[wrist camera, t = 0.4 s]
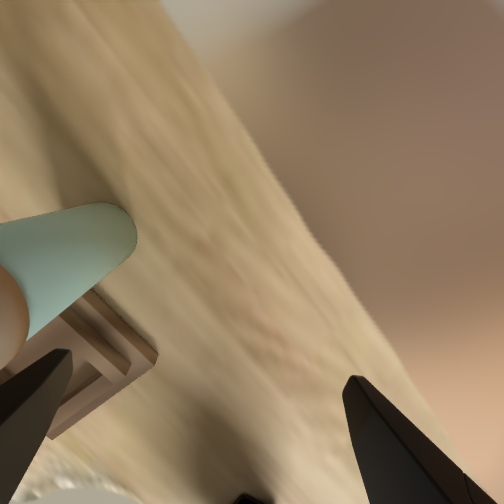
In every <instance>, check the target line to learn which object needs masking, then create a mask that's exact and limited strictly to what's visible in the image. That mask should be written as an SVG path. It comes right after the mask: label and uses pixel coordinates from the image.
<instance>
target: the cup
mask: <svg viewBox="0 0 504 504" xmlns="http://www.w3.org/2000/svg"><path fill="white" fill-rule="evenodd" d="M136 243H137V231H136V227H135V225H134V222H133V221H132V219H131V218H130V216H129V215H128V214H127V213H126V212H125V211H124V210H122V209H121V208H119V207H117V206H115V205H113V204H110V203H105V202H96V203H91V204H86V205H82V206H77V207H73V208H68V209H64V210H59V211H55V212H50V213H46V214H41V215H37V216H32V217H28V218H23V219H19V220H14V221H10V222H6V223H1V224H0V370H1V369H2V368H3V367H4V366H6V365H7V364H8V363H9V362H10V361H11V360H13V359H14V358H15V357H16V356H17V355H18V353H19V352H20V351H21V350H22V348H23V346H24V344H25V342H26V341H27V340H28V339H30V338H31V337H32V336H33V335H34V334H36V333H37V332H38V331H39V330H41V329H42V328H43V327H44V326H45V325H47V324H48V323H49V322H50V321H51V320H53V319H54V318H55V317H56V316H58V315H59V314H60V313H61V312H62V311H64V310H65V309H66V308H67V307H68V306H70V305H71V304H72V303H73V302H75V301H76V300H77V299H78V298H79V297H81V296H82V295H83V294H84V293H85V292H87V291H88V290H89V289H90V288H92V287H93V286H94V285H95V284H96V283H98V282H99V281H100V280H101V279H103V278H104V277H105V276H106V275H107V274H109V273H110V272H111V271H112V270H113V269H115V268H116V267H117V266H118V265H120V264H121V263H122V262H123V261H124V260H126V259H127V258H128V257H129V256H130V255H131V254H132V252H133V251H134V249H135V247H136Z"/></svg>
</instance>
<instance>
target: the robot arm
mask: <svg viewBox="0 0 504 504" xmlns="http://www.w3.org/2000/svg"><path fill="white" fill-rule="evenodd" d="M72 374H73V357H72V351H71V350H70V349H65V348H55V349H53V350H52V351H50V352H49V353H47V354H46V355H44V356H43V357H41V358H40V359H38V360H37V361H35V362H34V363H32V364H31V365H29V366H28V367H26V368H25V369H23V370H22V371H20V372H19V373H17V374H16V375H14V376H13V377H11V378H10V379H8V380H7V381H5V382H4V383H2V384H1V385H0V504H9V502H10V500H11V498H12V496H13V494H14V493H15V491H16V489H17V487H18V485H19V484H20V482H21V480H22V478H23V476H24V474H25V473H26V471H27V469H28V467H29V465H30V463H31V462H32V460H33V458H34V456H35V454H36V453H37V451H38V449H39V447H40V445H41V443H42V442H43V440H44V438H45V436H46V434H47V432H48V430H49V428H50V426H51V424H52V421H53V419H54V417H55V414H56V412H57V410H58V407H59V405H60V403H61V400H62V398H63V396H64V393H65V391H66V389H67V386H68V384H69V381H70V379H71V377H72ZM342 398H343V403H344V408H345V413H346V418H347V423H348V427H349V432H350V437H351V442H352V446H353V449H354V453H355V456H356V459H357V463H358V466H359V469H360V473H361V476H362V479H363V483H364V486H365V489H366V493H367V496H368V499H369V502H370V504H497V503H496V502H495V501H494V500H493V499H492V498H491V497H490V496H489V495H488V494H486V493H485V492H484V491H483V490H482V489H481V488H480V487H479V486H478V485H477V484H476V483H475V482H474V481H473V480H472V479H471V478H470V477H468V476H467V475H466V474H465V473H463V471H462V470H461V469H460V468H459V467H458V466H457V465H456V464H455V463H454V462H453V461H452V460H451V459H450V458H448V457H447V456H446V455H445V454H444V453H443V452H442V451H441V450H440V449H439V448H438V447H437V446H436V445H435V444H434V443H433V442H432V441H431V440H430V439H429V438H428V437H426V436H425V435H424V434H423V433H422V432H421V431H420V430H419V429H418V428H417V427H416V426H415V425H414V424H413V423H412V422H411V421H410V420H409V419H408V418H407V417H406V416H405V415H403V414H402V413H401V412H400V411H399V410H398V409H397V408H396V407H395V406H394V405H393V404H392V403H391V402H390V401H389V400H388V399H387V398H386V397H385V396H384V395H383V394H381V393H380V392H379V391H378V390H377V389H376V388H375V387H374V386H373V385H372V384H371V383H370V382H369V381H368V380H367V379H366V378H365V377H363V376H358V375H352V376H350V378H349V379H348V381H347V383H346V385H345V387H344V389H343V393H342ZM233 504H264V503H262V502H260V501H258V500H256V499H254V498H252V497H250V496H248V495H241V496H240V497H239V498H238V499H237V500H236V501H235V502H234V503H233Z"/></svg>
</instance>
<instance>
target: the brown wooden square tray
mask: <svg viewBox="0 0 504 504" xmlns="http://www.w3.org/2000/svg"><path fill="white" fill-rule="evenodd" d="M55 348H65V349H70V350H71V351H72V357H73V374H72V377H71V379H70V381H69V384H68V386H67V389H66V391H65V393H64V396H63V398H62V400H61V403H60V405H59V407H58V410H57V412H56V414H55V417H54V419H53V421H52V424H51V426H50V428H49V430H48V432H47V434H46V436H47V437H48V438H50V439H51V440H53V439H55V438H56V437H57V436H59V435H60V434H61V433H63V432H64V431H66V430H67V429H68V428H70V427H71V426H72V425H74V424H75V423H77V422H78V421H79V420H81V419H82V418H83V417H85V416H86V415H88V414H89V413H90V412H92V411H93V410H94V409H96V408H97V407H98V406H100V405H101V404H103V403H104V402H105V401H107V400H108V399H109V398H111V397H112V396H114V395H115V394H116V393H118V392H119V391H120V390H122V389H123V388H125V387H126V386H127V385H129V384H130V383H131V382H133V381H134V380H136V379H137V378H138V377H140V376H141V375H142V374H144V373H145V372H146V371H148V370H149V369H151V368H152V367H153V366H154V365H155V363H156V360H157V358H158V354H157V353H156V352H155V351H154V350H153V349H152V348H151V347H150V346H149V345H148V344H147V343H146V342H145V341H144V340H143V339H142V338H141V337H140V336H139V335H138V334H136V333H135V332H134V331H133V330H132V329H131V328H130V327H129V326H128V325H127V324H126V323H125V322H124V321H123V320H122V319H121V318H120V317H119V316H118V315H117V314H116V313H115V312H114V311H113V310H112V309H111V308H110V307H109V306H108V305H107V304H106V303H105V302H104V301H103V300H102V299H101V298H100V297H99V296H98V295H96V294H95V293H94V292H93V291H92V290H91V289H89V290H88V291H87V292H85V293H84V294H83V295H82V296H81V297H79V298H78V299H77V300H76V301H75V302H73V303H72V304H71V305H70V306H68V307H67V308H66V309H65V310H64V311H62V312H61V313H60V314H59V315H58V316H56V317H55V318H54V319H53V320H51V321H50V322H49V323H48V324H47V325H45V326H44V327H43V328H42V329H41V330H39V331H38V332H37V333H36V334H34V335H33V336H32V337H31V338H30V339H28V340H27V341H26V342H25V344H24V346H23V348H22V350H21V351H20V352H19V353H18V355H17V356H16V357H15V358H14V359H13V360H11V361H10V362H9V363H8V364H7V365H6V366H4V367H3V368H2V369H1V370H0V385H1V384H2V383H4V382H5V381H7V380H8V379H10V378H11V377H13V376H14V375H16V374H17V373H19V372H20V371H22V370H23V369H25V368H26V367H28V366H29V365H31V364H32V363H34V362H35V361H37V360H38V359H40V358H41V357H43V356H44V355H46V354H47V353H49V352H50V351H52V350H53V349H55Z"/></svg>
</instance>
